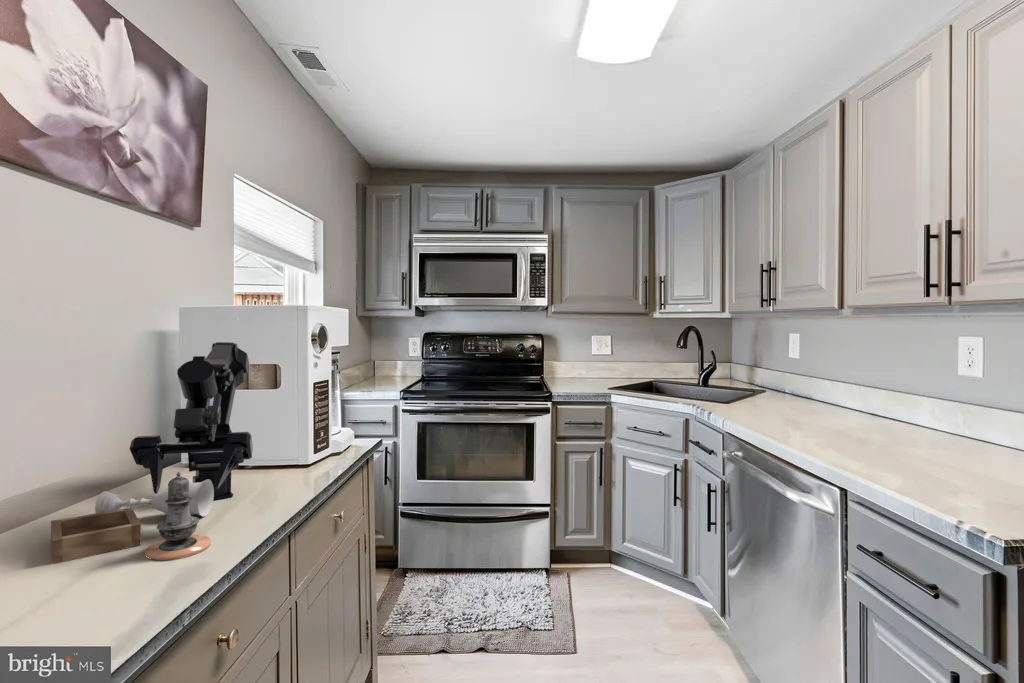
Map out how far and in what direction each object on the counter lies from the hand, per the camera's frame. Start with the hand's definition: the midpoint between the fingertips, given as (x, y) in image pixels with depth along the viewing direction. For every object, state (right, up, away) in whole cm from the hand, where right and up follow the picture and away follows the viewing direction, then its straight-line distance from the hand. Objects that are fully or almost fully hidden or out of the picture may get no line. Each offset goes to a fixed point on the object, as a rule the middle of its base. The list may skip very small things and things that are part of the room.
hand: (186, 490), depth 89 cm
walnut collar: (-13, -8, -3) cm, 16 cm away
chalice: (-21, -5, +8) cm, 23 cm away
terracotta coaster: (+2, -8, -5) cm, 10 cm away
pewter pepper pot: (+1, -8, -4) cm, 9 cm away
